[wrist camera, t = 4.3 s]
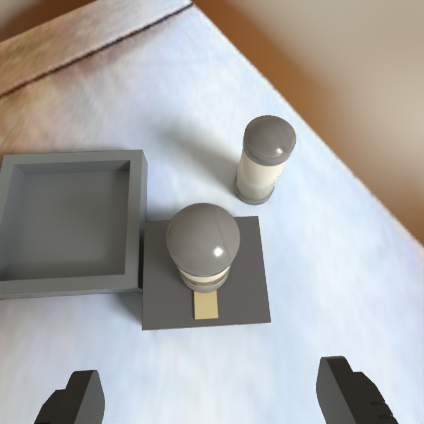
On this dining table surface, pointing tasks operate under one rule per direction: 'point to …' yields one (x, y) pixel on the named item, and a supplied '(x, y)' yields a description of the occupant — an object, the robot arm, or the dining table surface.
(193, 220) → the ball
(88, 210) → the parts tray
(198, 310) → the block
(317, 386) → the robot arm
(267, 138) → the fuse
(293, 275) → the dining table surface
